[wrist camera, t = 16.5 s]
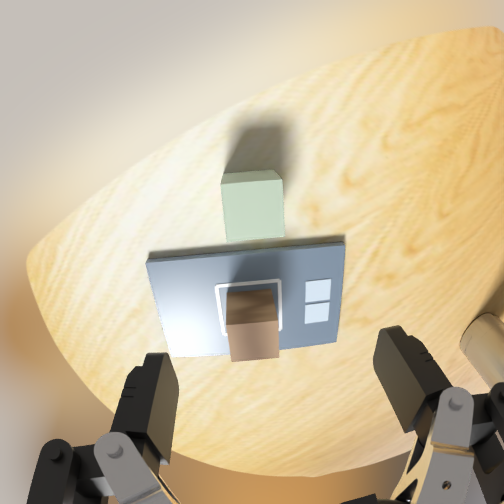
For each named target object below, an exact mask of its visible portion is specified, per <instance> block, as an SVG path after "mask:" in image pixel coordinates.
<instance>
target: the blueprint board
mask: <svg viewBox="0 0 504 504" xmlns="http://www.w3.org/2000/svg"><path fill="white" fill-rule="evenodd" d="M344 257H345V244H344V243H343V242H335V243H324V244H312V245H301V246H290V247H278V248H267V249H256V250H244V251H233V252H222V253H211V254H200V255H189V256H178V257H167V258H156V259H148V260H147V261H146V268H147V272H148V276H149V280H150V284H151V288H152V292H153V295H154V299H155V303H156V306H157V310H158V314H159V317H160V321H161V324H162V327H163V331H164V334H165V337H166V341H167V344H168V347H169V350H170V353H171V356H172V357H193V356H213V355H229V354H230V348H229V342H228V336H227V329H226V298H227V293H228V292H240V291H251V290H262V289H271V290H272V295H273V299H274V304H275V308H276V312H277V317H278V327H279V350H282V349H291V348H299V347H306V346H313V345H320V344H327V343H333V342H336V339H337V332H338V323H339V314H340V305H341V295H342V284H343V271H344Z"/></svg>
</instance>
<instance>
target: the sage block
mask: <svg viewBox="0 0 504 504" xmlns="http://www.w3.org/2000/svg"><path fill="white" fill-rule="evenodd" d="M221 194H222V203H223V212H224V221H225V230H226V239H227V242H233V241H243V240H254V239H265V238H276V237H285V224H284V202H283V181H282V178H281V177H280V176H279V175H278V174H277V173H276V172H275V171H274V170H273V169H272V170H258V171H246V172H235V173H225V174H223V176H222V180H221Z"/></svg>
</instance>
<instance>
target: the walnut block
mask: <svg viewBox="0 0 504 504" xmlns="http://www.w3.org/2000/svg"><path fill="white" fill-rule="evenodd" d="M226 329H227V336H228V342H229V348H230V355H231V361H232V362H236V361H249V360H260V359H270V358H279V327H278V317H277V312H276V308H275V304H274V299H273V295H272V290H271V289H262V290H251V291H240V292H228V293H227V298H226Z"/></svg>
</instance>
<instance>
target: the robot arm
mask: <svg viewBox="0 0 504 504" xmlns="http://www.w3.org/2000/svg"><path fill="white" fill-rule="evenodd" d="M460 349H461V351H462V352H463V353H464V355H465V356H466V357H467V358H468V360H469V361H470V362H471V364H472V365H473V366H474V368H475V369H476V370H477V372H478V373H479V374H480V376H481V377H482V378H483V380H484V381H485V382H486V384H487V385H488V386H489V388H490V389H491V390H490V392H489V393H485V394H477V395H471V394H470V393H469V392H468V391H467V390H465V389H463V388H460V387H453V386H452V385H451V383H450V382H449V380H448V379H447V377H446V376H445V374H444V373H443V371H442V370H441V368H440V367H439V366H438V364H437V363H436V361H435V360H433V357H432V356H431V354H430V353H428V350H427V349H426V347H425V346H424V344H423V343H422V342H421V341H419V340H418V339H417V338H415V337H414V336H412V335H410V336H407V334H406V333H405V331H404V330H403V329H402V327H401V326H399V325H397V326H392V327H388V328H383V329H381V330H380V331H379V335H378V339H377V344H376V348H375V352H374V357H373V365H374V370H375V372H376V374H377V376H378V378H379V380H380V382H381V384H382V386H383V388H384V390H385V392H386V394H387V397H388V399H389V401H390V403H391V405H392V407H393V409H394V411H395V413H396V415H397V417H398V420H399V422H400V424H401V426H402V428H403V430H404V433H408V432H411V431H413V430H415V431H416V434H417V436H416V437H415V440H414V443H413V446H412V450H411V453H410V456H409V459H408V462H407V465H406V468H405V470H404V473H403V476H402V478H401V480H400V482H399V483H398V485H397V487H396V488H395V490H394V492H393V494H392V496H391V498H390V499H377V498H376V495H375V494H371V495H368V496H365V497H361V498H358V499H354V500H350V501H347V502H343V503H341V504H464V502H465V499H466V495H467V491H468V487H469V482H470V478H471V473H472V468H473V469H474V472H475V474H476V477H477V479H478V482H479V484H480V487H481V490H482V492H483V494H484V498H485V500H486V503H487V504H504V450H503V448H502V446H501V444H500V442H499V440H498V438H497V436H496V434H495V432H496V431H497V430H498V432H499V434H500V436H501V438H502V440H503V442H504V323H503V322H502V321H501V320H500V319H499V318H498V317H497V316H496V315H495V316H493V315H492V314H491V313H485V314H483V315H481V316H479V317H478V318H477V319H476V320H475V321H474V322H473V323H472V324H471V325H470V326H469V327H468V329H467V330H466V332H465V333H464V335H463V337H462V339H461V342H460ZM178 396H179V385H178V380H177V377H176V374H175V371H174V369H173V366H172V363H171V360H170V357H169V355H168V353H147V354H146V357H145V360H144V363H143V366H135V368H134V369H133V370H132V371H131V372H130V373H129V375H128V376H127V379H126V382H125V385H124V389H123V391H122V394H121V398H120V400H119V403H118V407H117V410H116V413H115V417H114V420H113V424H112V427H111V430H110V432H109V433H107V434H105V435H103V436H101V437H100V438H99V439H98V440H97V442H96V443H95V444H93V445H86V446H78V447H71V446H70V445H69V443H67V442H66V441H64V440H62V439H53V440H51V441H49V442H47V443H46V444H45V445H44V446H43V448H42V450H41V452H40V455H39V459H38V462H37V465H36V469H35V472H34V476H33V479H32V483H31V487H30V491H29V495H28V499H27V504H108V496H112V495H115V497H116V498H117V500H118V502H119V504H181V503H180V502H179V500H178V499H177V498H176V497H175V496H174V494H173V493H172V491H171V490H170V489H169V487H168V486H167V485H166V483H165V482H164V481H163V479H162V478H161V477H160V475H159V467H160V464H163V465H169V463H170V455H171V447H172V439H173V432H174V424H175V417H176V410H177V403H178Z"/></svg>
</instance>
